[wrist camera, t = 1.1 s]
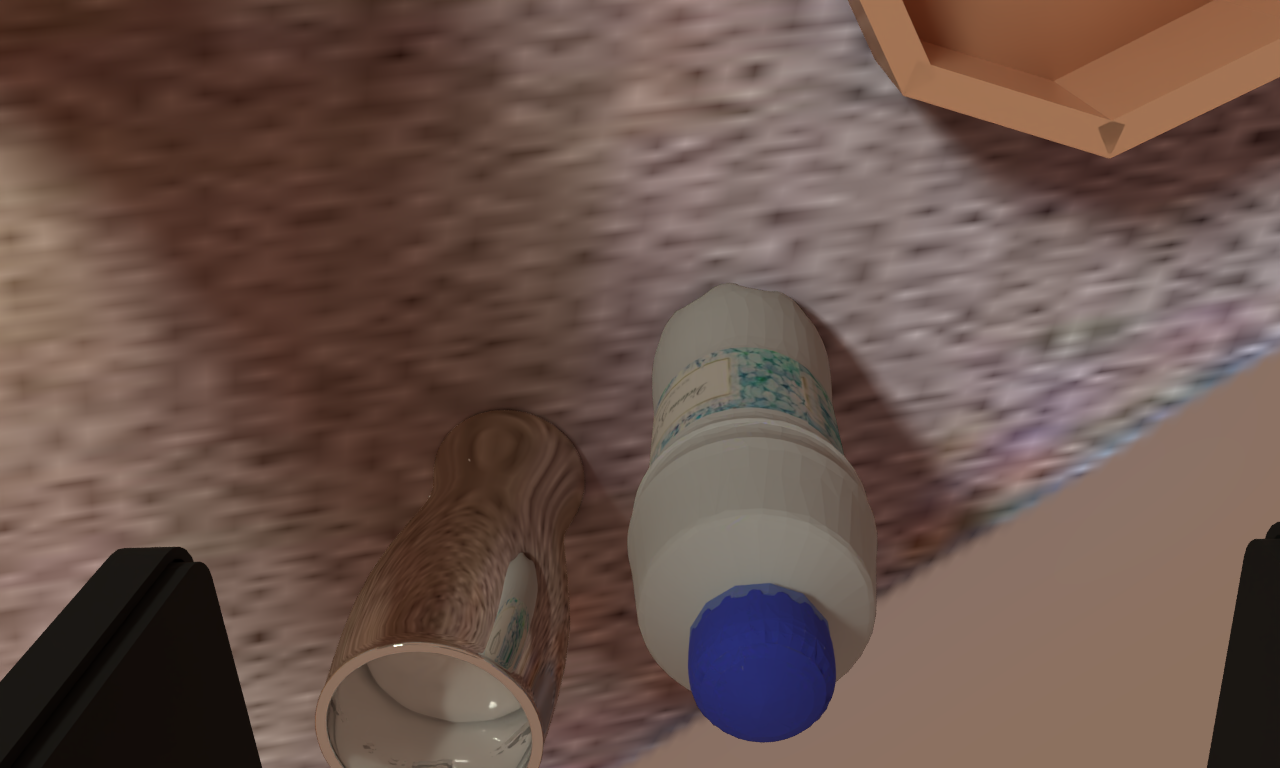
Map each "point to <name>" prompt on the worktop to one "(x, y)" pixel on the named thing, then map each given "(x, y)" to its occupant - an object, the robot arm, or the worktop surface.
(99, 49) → the worktop surface
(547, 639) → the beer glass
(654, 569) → the bottle
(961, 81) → the bowl
